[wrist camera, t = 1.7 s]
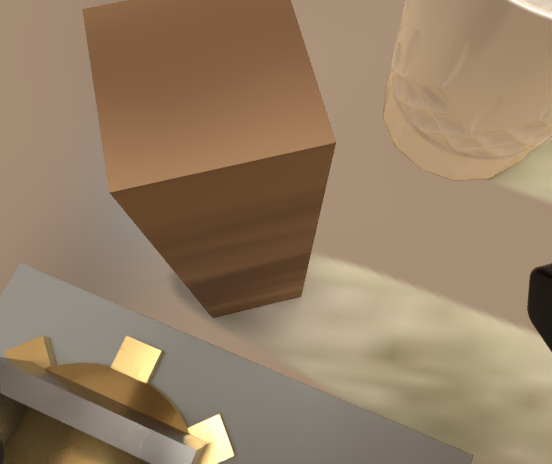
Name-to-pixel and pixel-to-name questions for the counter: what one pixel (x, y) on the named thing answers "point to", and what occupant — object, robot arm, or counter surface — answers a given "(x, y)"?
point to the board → (213, 382)
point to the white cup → (470, 84)
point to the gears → (98, 412)
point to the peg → (214, 140)
